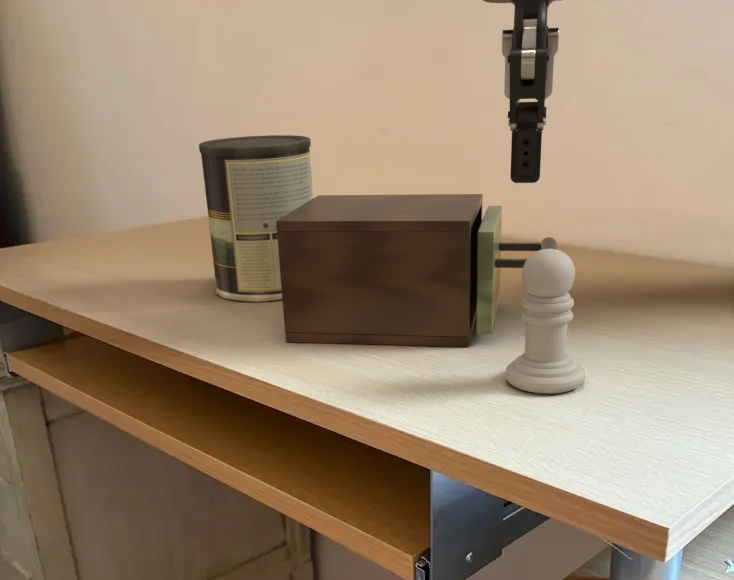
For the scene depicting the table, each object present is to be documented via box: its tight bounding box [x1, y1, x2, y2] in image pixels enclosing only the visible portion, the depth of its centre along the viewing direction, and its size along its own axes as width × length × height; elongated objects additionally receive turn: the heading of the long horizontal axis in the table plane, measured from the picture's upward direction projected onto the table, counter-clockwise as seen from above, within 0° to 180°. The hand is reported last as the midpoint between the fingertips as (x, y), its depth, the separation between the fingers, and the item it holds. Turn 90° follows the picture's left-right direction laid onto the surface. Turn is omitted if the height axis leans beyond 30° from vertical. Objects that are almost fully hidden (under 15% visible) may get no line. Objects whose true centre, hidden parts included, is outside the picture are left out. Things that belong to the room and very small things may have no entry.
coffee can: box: [198, 134, 314, 303], centre depth 79 cm, size 10×10×14 cm
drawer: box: [470, 205, 558, 335], centre depth 68 cm, size 18×11×8 cm, turn 79°
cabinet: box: [276, 193, 484, 348], centre depth 69 cm, size 15×13×10 cm
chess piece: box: [504, 249, 587, 394], centre depth 54 cm, size 5×5×9 cm
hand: (525, 181), depth 64 cm, fingers closed
